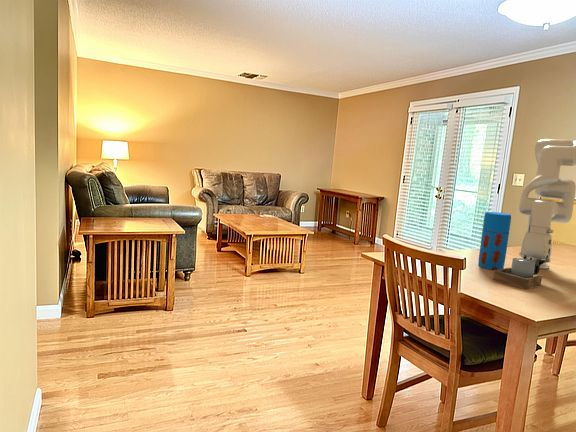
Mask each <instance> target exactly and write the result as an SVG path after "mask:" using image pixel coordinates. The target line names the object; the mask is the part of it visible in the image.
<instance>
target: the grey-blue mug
mask: <svg viewBox="0 0 576 432" xmlns="http://www.w3.org/2000/svg"><path fill="white" fill-rule="evenodd" d="M511 263H512V264H511V267H510V268H511V275H515V276H519V277H522V278H530V277H534V276H535V275H534V269H535V263H536V261H534V260H529V259H524V258H522V257H513V258H512V262H511Z"/></svg>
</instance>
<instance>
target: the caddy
mask: <svg viewBox="0 0 576 432" xmlns="http://www.w3.org/2000/svg"><path fill="white" fill-rule="evenodd" d="M511 268H512V267H505V268H503V269H500V270H493V277H492V281H495V282H498V283H501V284H505V285H509V286H513V287H516V288H519V289H522V290H530V289H533V288H538V287H541V286H542V281H543V275H540V274H539V275H533V277H530V278H522V277H519V276H515V275H511Z"/></svg>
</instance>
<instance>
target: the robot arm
mask: <svg viewBox="0 0 576 432" xmlns="http://www.w3.org/2000/svg"><path fill="white" fill-rule="evenodd" d="M534 157H535V161H536V163H537V168H536V169H537V170H536V174H535V175H536V176H535V177H534V178H532V179H531V180H530V181H528V182H527V183H526V184H525V186H524V187H523V189H522V191H521V195H520V198H519V205H518V210H519V212H520V214H522V215H525V216H528V217H527V218H528V221H527V229H526V232H525V235H524V237H523V239H522V245H521V250H520V252H519V254H518V255H519V257H520V258H524V259H529V260H534V261H536V263H535V269H534V275H533V276H538V274H539V273H540V269H541V270H542V269H545V270H546V269H549V267H550V265H549V264H548V263H551V255H552V246H553V244H552V243H553V242H552V241H553V240H552V239H553V238H552V235H551V234H553V233H554V230H553V229H551V224H552V223H553V222H554V223H563V224H566V223H569V222H571V220H572V218H573V211H574V205H575V198H576V197H575V196H576V183H575V181H574V180H572V179H568V178H560V171H561V166H564V167H575V166H576V139H560V138H559V139H557V138H544V139H539V140H537V141H536V142H535V144H534ZM532 191H534V192H535V196H536V197H540V198H533V197H529V195H530V193H531V192H532ZM543 198H544V199H543ZM553 199H555V200H556V199H557V200H561V201H555V200H553Z"/></svg>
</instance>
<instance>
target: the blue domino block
mask: <svg viewBox="0 0 576 432" xmlns="http://www.w3.org/2000/svg"><path fill="white" fill-rule="evenodd" d="M483 217H484V218H483V224H482V230H481V231H482V232H481V239H480V246H479V252H478V253H479V255H478V262H477V263H478V267H480V268H483V269H487V270H491V271H495V270H500V269H505V268H504V267H505V264H506V263H505V261H506V256H507V250H508V249H507V248H508V243H509V237H510V229H511V222H512V214H511V213H510V214H509V213H504V212H498V211H485V213H484V215H483Z"/></svg>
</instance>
